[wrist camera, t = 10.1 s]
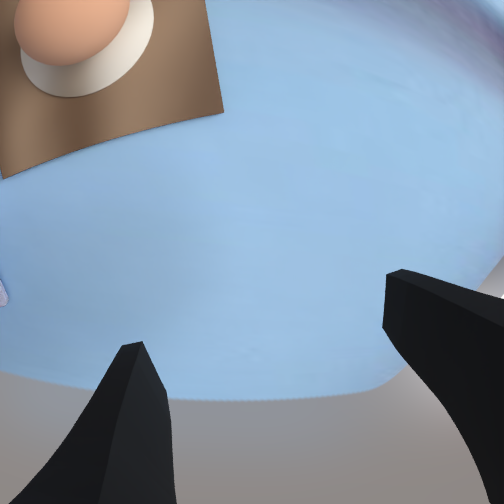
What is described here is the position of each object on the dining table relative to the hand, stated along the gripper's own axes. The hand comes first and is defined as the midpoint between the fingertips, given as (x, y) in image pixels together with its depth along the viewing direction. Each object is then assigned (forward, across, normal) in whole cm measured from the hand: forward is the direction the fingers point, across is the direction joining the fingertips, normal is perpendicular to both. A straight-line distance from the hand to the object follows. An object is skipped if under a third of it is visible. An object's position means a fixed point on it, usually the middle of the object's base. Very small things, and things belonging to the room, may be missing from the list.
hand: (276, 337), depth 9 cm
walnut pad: (+9, +5, -12) cm, 16 cm away
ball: (+6, +5, -12) cm, 14 cm away
